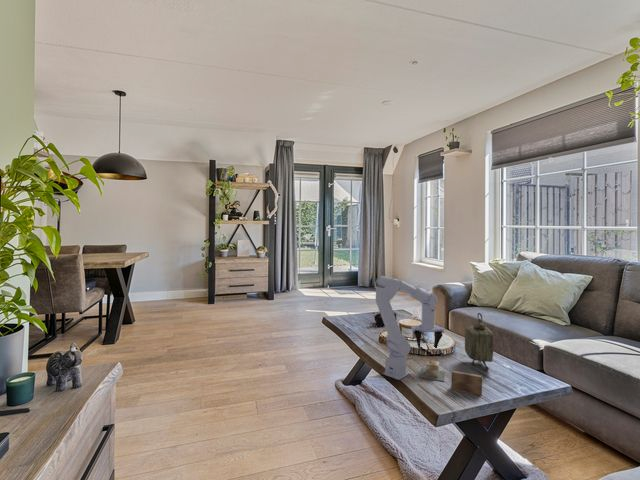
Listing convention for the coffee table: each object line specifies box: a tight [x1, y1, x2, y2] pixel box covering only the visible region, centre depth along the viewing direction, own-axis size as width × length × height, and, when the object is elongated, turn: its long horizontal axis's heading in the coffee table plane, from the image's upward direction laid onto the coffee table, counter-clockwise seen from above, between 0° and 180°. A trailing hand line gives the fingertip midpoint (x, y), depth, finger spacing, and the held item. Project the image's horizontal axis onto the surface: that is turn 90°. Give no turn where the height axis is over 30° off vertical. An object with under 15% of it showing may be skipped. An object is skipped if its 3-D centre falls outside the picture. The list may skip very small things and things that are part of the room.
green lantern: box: [464, 312, 494, 371], centre depth 155 cm, size 14×9×25 cm, turn 168°
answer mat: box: [419, 367, 446, 383], centre depth 144 cm, size 10×10×1 cm
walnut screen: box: [450, 370, 483, 396], centre depth 129 cm, size 11×2×7 cm, turn 67°
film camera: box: [373, 312, 397, 328], centre depth 218 cm, size 18×12×10 cm
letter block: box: [425, 359, 440, 377], centre depth 144 cm, size 5×5×5 cm
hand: (427, 347), depth 151 cm, fingers open, 7 cm apart
